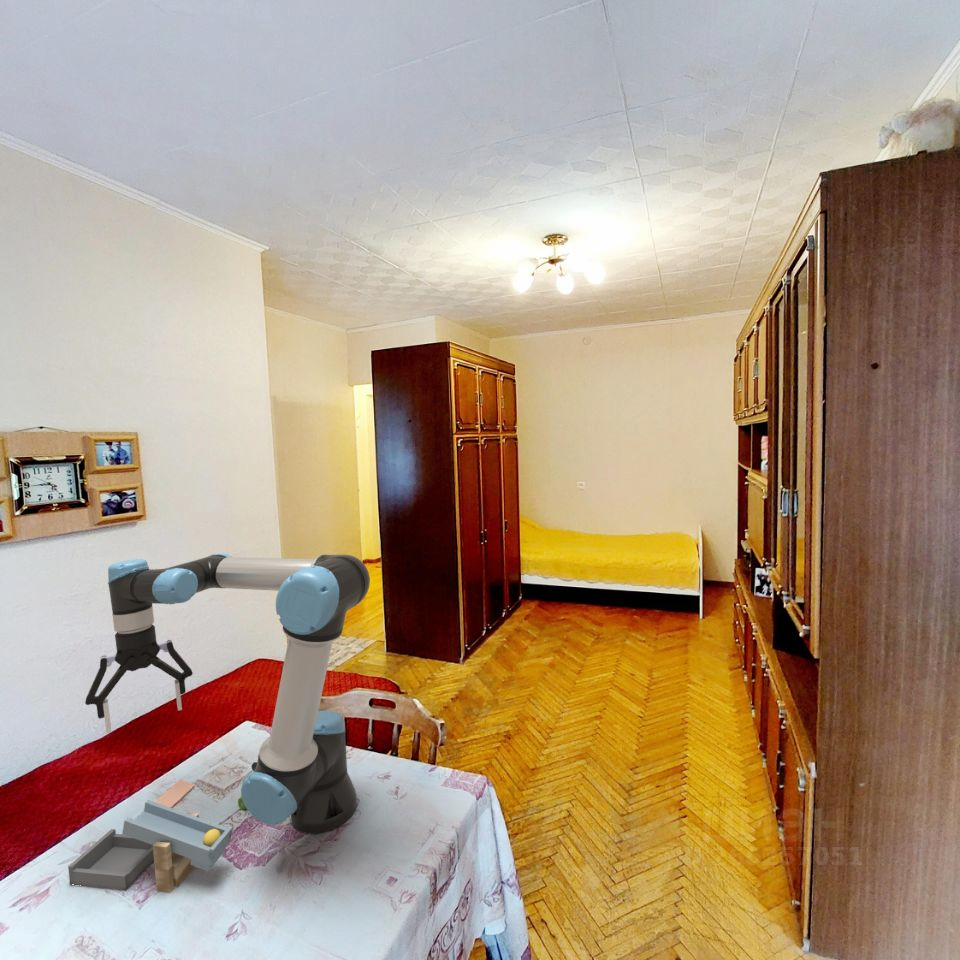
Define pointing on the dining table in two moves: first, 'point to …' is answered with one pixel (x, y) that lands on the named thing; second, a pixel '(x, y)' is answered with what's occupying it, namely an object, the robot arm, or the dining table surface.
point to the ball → (211, 837)
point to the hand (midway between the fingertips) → (145, 718)
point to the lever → (178, 828)
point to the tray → (112, 862)
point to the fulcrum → (170, 866)
